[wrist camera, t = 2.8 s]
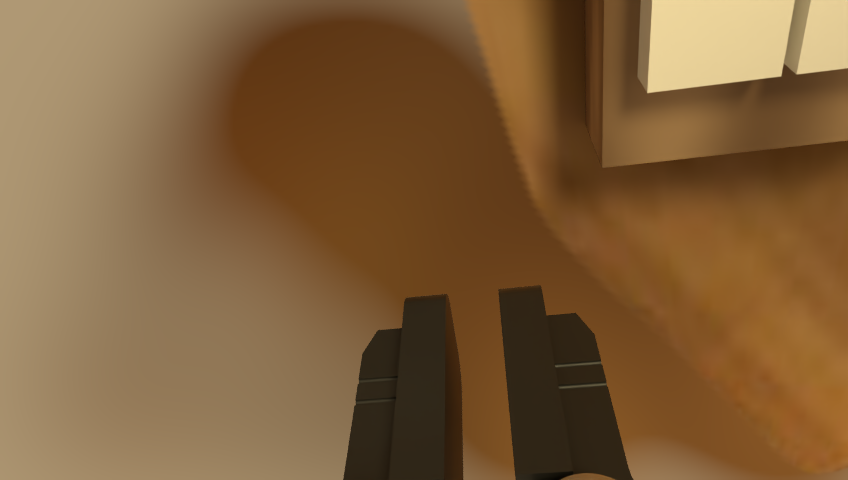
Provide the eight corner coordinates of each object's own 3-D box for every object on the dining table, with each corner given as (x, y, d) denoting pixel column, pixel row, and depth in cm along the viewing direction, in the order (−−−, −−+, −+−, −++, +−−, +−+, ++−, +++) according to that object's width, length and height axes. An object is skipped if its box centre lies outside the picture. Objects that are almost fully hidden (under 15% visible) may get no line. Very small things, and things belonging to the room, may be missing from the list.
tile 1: (785, -74, 21) (806, -64, 20) (764, 60, 23) (781, 76, 22) (642, -52, 21) (654, -42, 20) (637, 76, 24) (647, 93, 23)
